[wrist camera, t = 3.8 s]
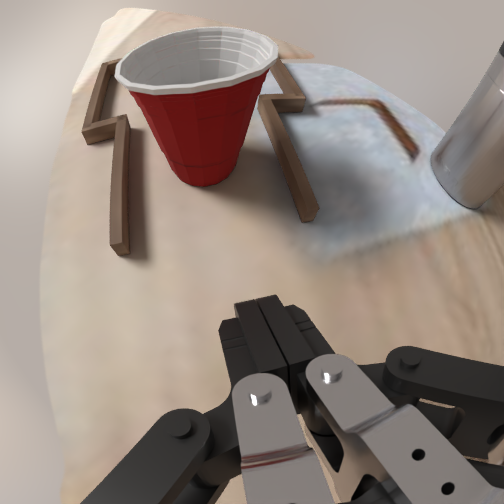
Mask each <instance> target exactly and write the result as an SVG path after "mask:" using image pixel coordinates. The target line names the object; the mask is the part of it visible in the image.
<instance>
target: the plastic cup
mask: <svg viewBox="0 0 504 504" xmlns="http://www.w3.org/2000/svg"><path fill="white" fill-rule="evenodd" d="M277 58H278V45H277V44H276V43H274V42H273V41H272V40H271V39H270V38H269V37H267V36H265V35H263V34H260V33H257V32H254V31H251V30H248V29H241V28H232V27H200V28H193V29H187V30H182V31H177V32H172V33H169V34H166V35H163V36H160V37H157V38H155V39H152V40H149V41H147V42H145V43H143V44H142V45H140V46H138V47H136V48H135V49H133V50H131V51H130V52H128V53H127V54H126V55H125V56H124V57H123V58H122V59H121V60H120V61H119V63H118V64H117V65H116V70H115V78H116V79H117V81H118V82H119V83H121V84H122V85H123V86H124V87H125V88H127V89H128V90H129V92H130V94H131V95H132V96H133V97H134V99H135V101H136V103H137V105H138V106H139V107H140V108H141V110H142V112H143V114H144V116H145V118H146V120H147V122H148V124H149V126H150V128H151V130H152V132H153V135H154V137H155V139H156V141H157V143H158V145H159V147H160V149H161V151H162V152H163V153H164V154H165V156H166V158H167V160H168V163H169V165H170V167H171V169H172V170H173V172H174V173H175V174H176V175H177V176H178V177H179V179H180V180H181V181H183V182H185V183H187V184H190V185H192V186H203V187H205V186H209V185H214V184H217V183H219V182H221V181H222V180H224V179H226V178H227V177H228V176H229V174H230V173H231V172H232V171H233V169H234V167H235V166H236V163H237V159H238V156H239V152H240V149H241V147H242V146H243V143H244V140H245V136H246V133H247V130H248V126H249V123H250V120H251V117H252V113H253V110H254V107H255V104H256V101H257V97H258V95H259V94H260V92H261V88H262V84H263V82H264V81H265V78H266V75H267V73H268V72H269V69H270V68H271V66H272V65H273V64H275V63H276V60H277Z"/></svg>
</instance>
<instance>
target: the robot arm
mask: <svg viewBox="0 0 504 504" xmlns="http://www.w3.org/2000/svg"><path fill="white" fill-rule="evenodd" d="M431 166H432V169H433V171H434V173H435V175H436V177H437V179H438V181H439V182H440V184H441V185H442V186H443V188H444V189H445V190H446V191H447V192H448V193H449V194H450V195H451V196H452V197H453V198H454V199H455V200H456V201H458V202H459V203H460V204H462V205H464V206H466V207H468V208H473V209H475V208H479V207H480V206H481V205H482V204H483V203H484V202H486V201H487V200H488V199H489V198H490V197H491V196H492V195H493V194H494V193H495V192H496V191H497V190H498V189H500V188H501V187H502V186H503V185H504V42H503V44H502V45H501V47H500V49H499V51H498V53H497V55H496V57H495V58H494V60H493V62H492V63H491V65H490V67H489V69H488V70H487V72H486V74H485V75H484V77H483V79H482V80H481V82H480V84H479V85H478V87H477V88H476V90H475V92H474V93H473V95H472V97H471V98H470V99H469V101H468V102H467V104H466V106H465V107H464V108H463V110H462V111H461V113H460V115H459V116H458V117H457V119H456V120H455V122H454V123H453V125H452V126H451V127H450V129H449V130H448V132H447V133H446V134H445V136H444V137H443V139H442V140H441V141H440V143H439V144H438V146H437V147H436V148H435V150H434V151H433V152H432V154H431ZM234 309H235V315H236V318H232V319H227V320H223V321H222V323H221V325H220V328H219V330H218V331H219V335H220V340H221V344H222V348H223V353H224V357H225V361H226V366H227V370H228V374H229V378H230V382H231V392H230V394H229V396H228V398H227V399H226V400H225V401H224V402H223V403H222V404H221V405H219V406H218V407H216V408H214V409H212V410H210V411H208V412H206V413H204V414H202V413H200V412H198V411H196V410H193V409H176V410H173V411H170V412H168V413H166V414H164V415H163V416H162V417H161V418H159V419H158V421H157V422H156V423H155V424H154V425H153V426H152V427H151V428H150V430H149V431H148V432H147V433H146V434H145V435H144V436H143V437H142V438H141V440H140V441H139V442H138V443H137V444H136V445H135V446H134V447H133V448H132V450H131V451H130V452H129V453H128V454H127V455H126V456H125V457H124V458H123V459H122V460H121V461H120V463H119V464H118V465H117V466H116V467H115V468H114V469H113V470H112V471H111V472H110V473H109V474H108V475H107V476H106V477H105V478H104V480H103V481H102V482H101V483H100V484H99V485H98V486H97V487H96V488H95V489H94V490H93V491H92V492H91V493H90V494H89V495H88V496H87V497H86V498H85V499H84V500H83V501H82V502H81V503H80V504H215V503H216V501H217V500H218V498H219V497H220V495H221V494H222V492H223V491H224V489H225V488H226V486H227V485H228V483H229V481H230V479H232V478H234V477H236V476H238V475H240V474H241V473H242V478H243V483H244V489H245V495H246V500H247V504H335V502H334V500H333V497H332V494H331V492H330V489H329V486H328V484H327V481H326V478H325V476H324V473H323V470H322V468H321V465H320V462H319V460H318V457H317V455H316V453H315V451H314V449H313V448H310V447H309V446H308V444H307V442H306V439H305V437H304V434H303V431H302V428H301V425H300V422H299V420H298V417H297V414H300V413H301V415H302V417H303V419H304V421H305V433H306V435H307V437H308V438H309V440H310V442H311V443H312V445H313V447H314V448H315V450H316V452H317V453H318V455H319V457H320V458H321V460H322V462H323V463H324V465H325V467H326V468H327V470H328V472H329V473H330V475H331V477H332V479H333V482H334V487H335V490H336V493H337V495H338V497H339V499H340V500H341V502H342V503H338V504H504V366H500V365H494V364H489V363H484V362H479V361H475V360H470V359H465V358H461V357H456V356H452V355H447V354H443V353H438V352H434V351H430V350H426V349H422V348H417V347H413V346H402V347H398V348H396V349H394V350H392V351H391V352H390V353H389V354H388V356H387V358H386V362H385V363H378V364H369V365H356V364H355V363H354V362H353V361H352V360H351V359H350V358H348V357H346V356H343V355H339V354H335V352H334V351H333V350H332V348H331V347H330V345H329V344H328V343H327V341H326V340H325V339H324V337H323V336H322V334H321V333H320V332H319V330H318V329H317V328H316V326H315V325H314V323H313V322H312V321H311V320H310V318H309V317H308V315H307V314H306V312H305V311H304V310H302V309H300V308H298V307H297V306H295V305H289V306H285V307H284V306H283V304H282V303H281V301H280V300H279V298H278V296H277V295H271V296H267V297H262V298H258V299H255V300H254V299H253V300H249V301H244V302H239V303H235V304H234ZM420 398H422V399H426V400H430V401H434V402H438V403H443V404H447V405H451V406H456V407H454V408H445V407H440V406H436V405H432V404H428V403H424V402H420V401H419V399H420ZM462 455H464V456H469V457H475V458H481V459H488V460H489V461H488V462H487V463H484V462H479V461H474V460H470V459H465V458H464V457H463V456H462Z"/></svg>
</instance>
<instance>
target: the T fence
mask: <svg viewBox="0 0 504 504" xmlns="http://www.w3.org/2000/svg"><path fill="white" fill-rule="evenodd" d="M121 59H122V58H121ZM121 59H117V60H113V61H109V62H106V63H102V65H101V68H100V71H99V74H98V77H97V80H96V83H95V86H94V89H93V92H92V95H91V99H90V102H89V106H88V109H87V113H86V117H85V120H84V124H83V128H82V134H83V136H84V138H85V140H86V143H87V145H88V144H92V143H95V142H99V141H102V140H106V139H110V138H114V137H115V140H114V150H113V161H112V174H111V192H110V246H111V247H112V248H113V250H114V251H115V252H116V254H117V255H118V256H121V255H126V254H130V246H129V222H128V167H129V143H130V124H129V121H128V117H127V114H125V115H121V116H117V117H113V118H109V119H105V120H102V121H100V116H101V112H102V107H103V103H104V98H105V94H106V90H107V86H108V82H109V79H110V75H114V74H115V70H116V65H117V64H118V63H119V61H120V60H121ZM270 71H271V72H272V74H273V76H274V77H275V79H276V81H277V82H278V84H279V86H280V88H281V89H282V91H283V93H284V94H264V95H259V100H258V108H257V109H258V111H259V114H260V116H261V118H262V121H263V123H264V125H265V128H266V130H267V133H268V135H269V138H270V140H271V143H272V145H273V148H274V150H275V153H276V155H277V158H278V160H279V163H280V165H281V168H282V170H283V173H284V176H285V178H286V181H287V183H288V186H289V189H290V191H291V194H292V197H293V200H294V202H295V205H296V208H297V211H298V213H299V216H300V219H301V222H302V223H303V222H309V221H313V220H314V218H315V216H316V214H317V212H318V210H319V206H318V203H317V201H316V198H315V196H314V193H313V191H312V188H311V186H310V184H309V181H308V179H307V177H306V174H305V172H304V170H303V167H302V165H301V163H300V160H299V158H298V156H297V154H296V151H295V149H294V147H293V145H292V143H291V140H290V138H289V136H288V134H287V132H286V130H285V128H284V125H283V123H282V121H281V119H280V117H279V115H278V113H285V112H302V111H303V108H304V104H305V100H306V98H305V96H304V95H303V93H302V92H301V90H300V88H299V87H298V85H297V84H296V82H295V81H294V79H293V78H292V76H291V75H290V73H289V72H288V70H287V69H286V67H285V66H284V64H283V63H282V62H281V60H280V59H279V57H278V58H277V60H276V63H275V64H273V65H272V66H271V68H270Z"/></svg>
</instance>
